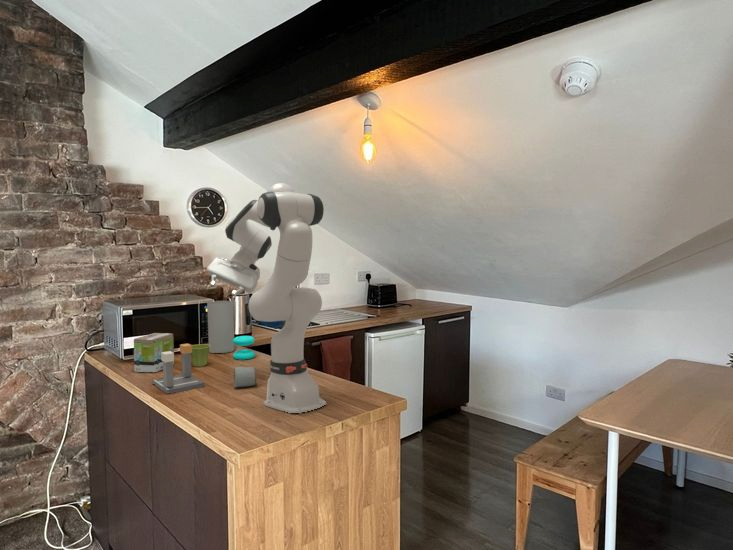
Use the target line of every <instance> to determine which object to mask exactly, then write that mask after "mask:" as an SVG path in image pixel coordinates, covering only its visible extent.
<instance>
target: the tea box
mask: <svg viewBox="0 0 733 550" xmlns="http://www.w3.org/2000/svg"><path fill="white" fill-rule="evenodd" d="M174 341H175V340H174V333H169V332H167V333H163V332H153V333H149V334H146V335H142V336H139V337H137V338H134V339H133V363H134V364H133V368H134V371H137V372H156V373H157V372H160V371H162V370H163V361H162V360H161V352H167V351H171V352H173V353H174V354H175V351H174V349H175V347H174V346H175V345H174ZM173 364H174V365H175V360H174V361H173ZM137 372H136V373H137Z"/></svg>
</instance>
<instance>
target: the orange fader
mask: <svg viewBox="0 0 733 550" xmlns="http://www.w3.org/2000/svg"><path fill="white" fill-rule="evenodd" d="M192 345H193V344H190V343H182V344H179V353H181V374H182V375H183V376H184V377H189V376H193V374H192V358H191V353H192Z"/></svg>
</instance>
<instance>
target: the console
mask: <svg viewBox="0 0 733 550" xmlns="http://www.w3.org/2000/svg"><path fill="white" fill-rule="evenodd" d="M173 381H174V386H172V387H166V386H164V377H159V378H155V379H151V384H152V383H153V384H155V385H156V386H157V387H159V388H160V389H161V390H160V389H159V388H158V389H159V390H160V391H162V390H163V391H164V392H165V393H164V392H163V391H162V392H163V393H164V394H166V393H167V394H166V395H170V394H169V393H171V394H175V393H174V392H176V393H179V392H185V390H186V391H190V390H195V389H200V388H204V387H205V385H206V384H205V382H204V381H202V380H201V379H199V378H196V377H195V376H193V375H192V376H189V377H184V376H183V375H182V373H181V374H177V375H173ZM153 384H152V385H153ZM155 385H154V386H155ZM156 386H155V387H156ZM157 387H156V388H157Z"/></svg>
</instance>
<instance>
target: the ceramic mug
mask: <svg viewBox="0 0 733 550" xmlns="http://www.w3.org/2000/svg"><path fill="white" fill-rule="evenodd" d="M257 379H258V377H257V369H256V367H254V366H235V367H234V370H233V385H234V387H233V388H234V389H235V388H245V387H246V388H247V387H253V386H256V385H257Z"/></svg>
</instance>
